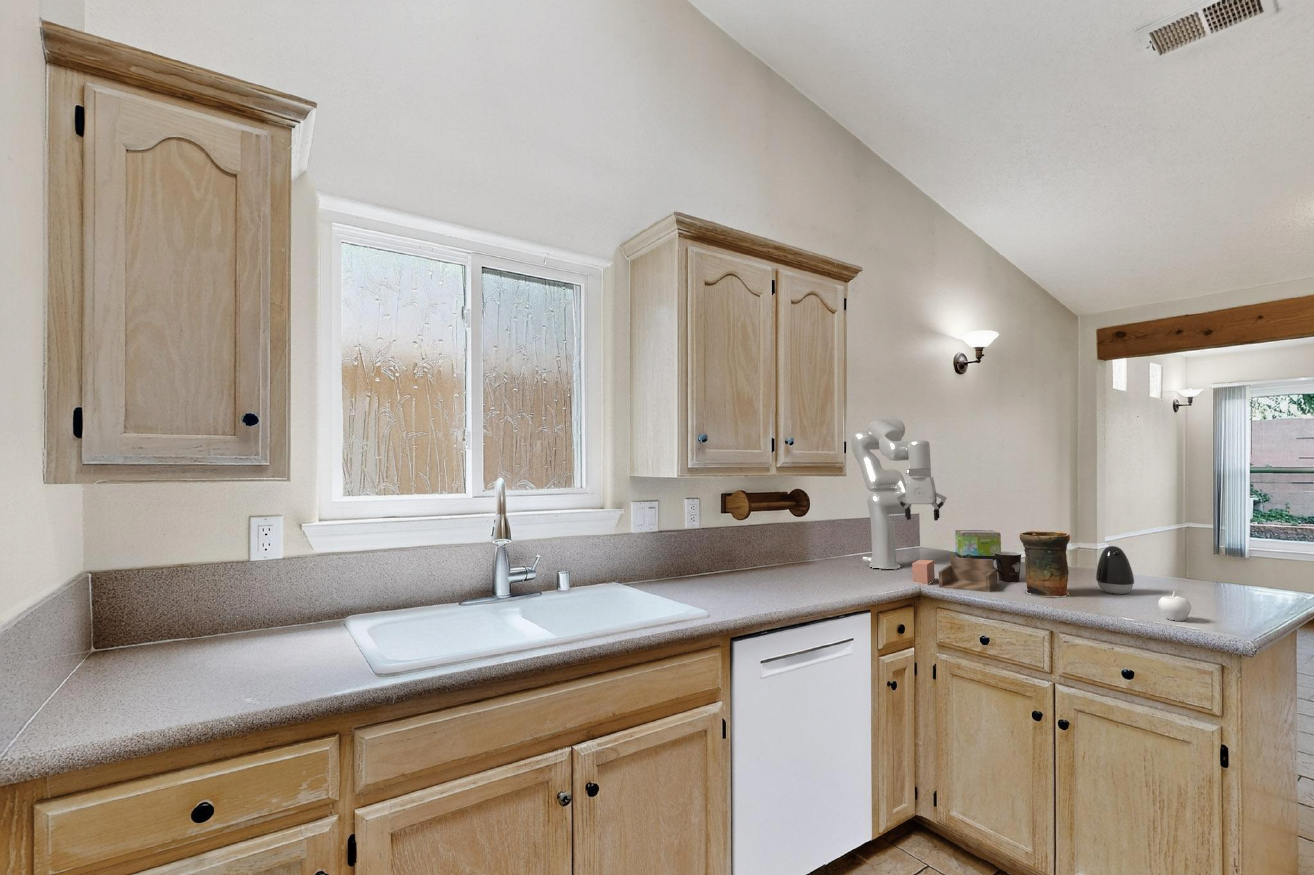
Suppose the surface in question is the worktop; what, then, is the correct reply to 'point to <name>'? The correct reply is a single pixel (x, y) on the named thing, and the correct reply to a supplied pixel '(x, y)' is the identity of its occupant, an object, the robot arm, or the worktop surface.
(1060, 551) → the vessel
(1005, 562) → the coffee mug
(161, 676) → the worktop surface
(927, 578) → the salmon pink block
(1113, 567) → the black rounded egg shape
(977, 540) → the tea box
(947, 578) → the stand
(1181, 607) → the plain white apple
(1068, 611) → the worktop surface
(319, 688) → the worktop surface
